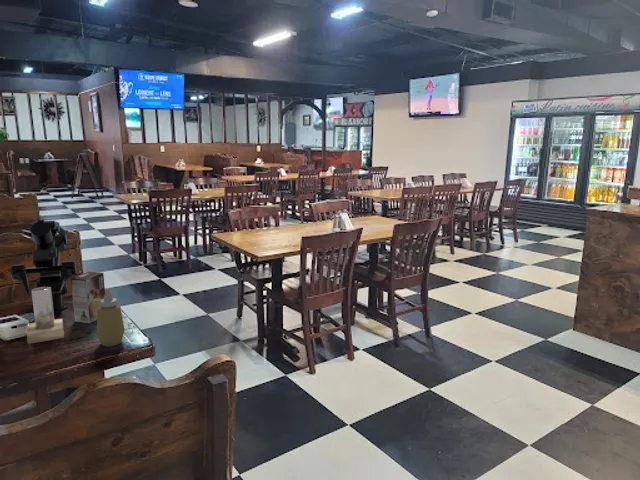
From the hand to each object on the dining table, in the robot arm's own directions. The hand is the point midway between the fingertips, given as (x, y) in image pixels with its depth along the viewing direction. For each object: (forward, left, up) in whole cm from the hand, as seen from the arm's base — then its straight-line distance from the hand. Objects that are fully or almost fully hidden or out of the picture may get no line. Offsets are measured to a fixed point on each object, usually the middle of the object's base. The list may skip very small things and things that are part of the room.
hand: (44, 292), depth 152 cm
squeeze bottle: (+5, +27, -13) cm, 30 cm away
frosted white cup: (+4, +2, -10) cm, 11 cm away
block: (+4, +3, -13) cm, 14 cm away
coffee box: (-12, +7, -13) cm, 19 cm away
